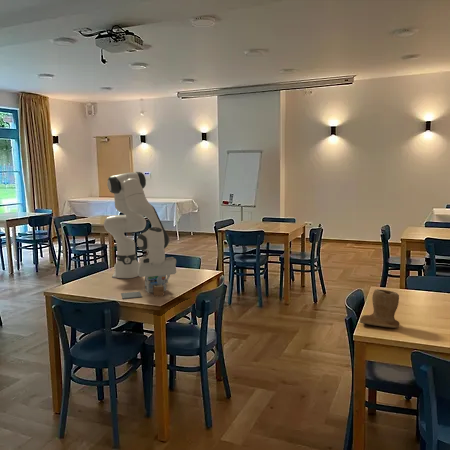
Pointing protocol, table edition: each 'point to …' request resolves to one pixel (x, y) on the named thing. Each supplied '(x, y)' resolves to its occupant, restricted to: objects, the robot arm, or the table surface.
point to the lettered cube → (158, 290)
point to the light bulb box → (155, 282)
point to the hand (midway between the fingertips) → (157, 283)
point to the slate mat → (131, 295)
